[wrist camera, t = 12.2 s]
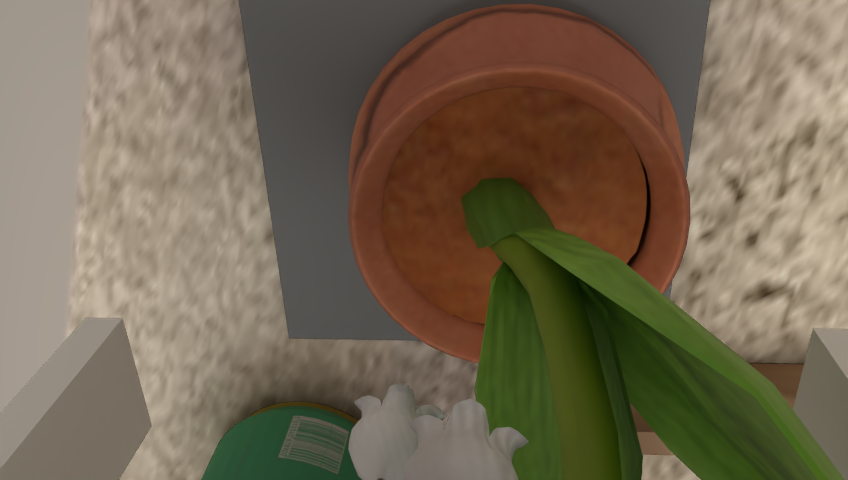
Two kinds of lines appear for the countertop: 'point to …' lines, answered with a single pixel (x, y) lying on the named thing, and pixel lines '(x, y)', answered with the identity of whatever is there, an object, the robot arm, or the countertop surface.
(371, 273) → the potted flower
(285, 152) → the mat
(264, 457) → the beverage can
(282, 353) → the countertop surface
